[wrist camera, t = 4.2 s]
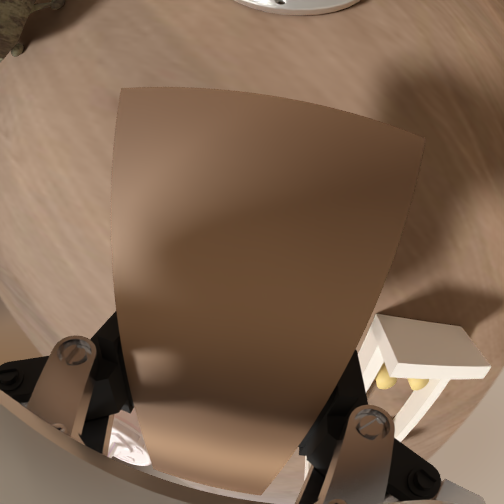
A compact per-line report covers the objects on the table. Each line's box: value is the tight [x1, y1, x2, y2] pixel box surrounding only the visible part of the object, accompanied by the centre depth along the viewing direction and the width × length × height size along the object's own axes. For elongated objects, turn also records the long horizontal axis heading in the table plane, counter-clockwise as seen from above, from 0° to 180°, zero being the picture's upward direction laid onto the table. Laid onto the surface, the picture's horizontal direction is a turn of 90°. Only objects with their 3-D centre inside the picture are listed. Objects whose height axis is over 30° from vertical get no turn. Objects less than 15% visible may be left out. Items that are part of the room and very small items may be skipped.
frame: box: [305, 314, 491, 479], centre depth 20 cm, size 19×9×6 cm, turn 170°
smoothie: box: [107, 407, 151, 466], centre depth 18 cm, size 6×6×14 cm
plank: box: [111, 87, 426, 495], centre depth 8 cm, size 14×5×4 cm, turn 170°
